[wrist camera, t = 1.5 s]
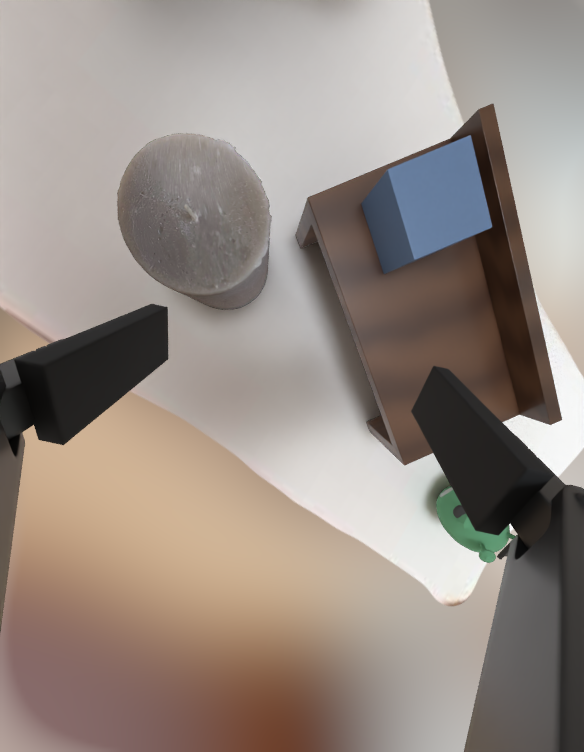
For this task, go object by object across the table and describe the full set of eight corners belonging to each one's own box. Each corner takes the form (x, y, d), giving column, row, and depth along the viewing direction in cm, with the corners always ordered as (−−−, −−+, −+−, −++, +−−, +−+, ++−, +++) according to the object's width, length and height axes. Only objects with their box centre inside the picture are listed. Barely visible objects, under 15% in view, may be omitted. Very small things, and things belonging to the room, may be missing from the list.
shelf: (295, 234, 31) (313, 177, 19) (407, 188, 31) (493, 102, 19) (370, 432, 36) (421, 482, 24) (465, 390, 36) (562, 420, 24)
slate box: (360, 203, 23) (387, 169, 18) (426, 176, 23) (471, 134, 18) (383, 274, 24) (414, 260, 19) (446, 248, 24) (492, 227, 19)
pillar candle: (171, 292, 31) (84, 260, 16) (195, 204, 29) (125, 80, 15) (254, 321, 32) (244, 316, 17) (280, 239, 31) (295, 157, 16)
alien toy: (464, 462, 38) (533, 508, 28) (475, 507, 40) (544, 566, 30) (418, 480, 38) (471, 532, 28) (431, 525, 39) (486, 590, 30)
